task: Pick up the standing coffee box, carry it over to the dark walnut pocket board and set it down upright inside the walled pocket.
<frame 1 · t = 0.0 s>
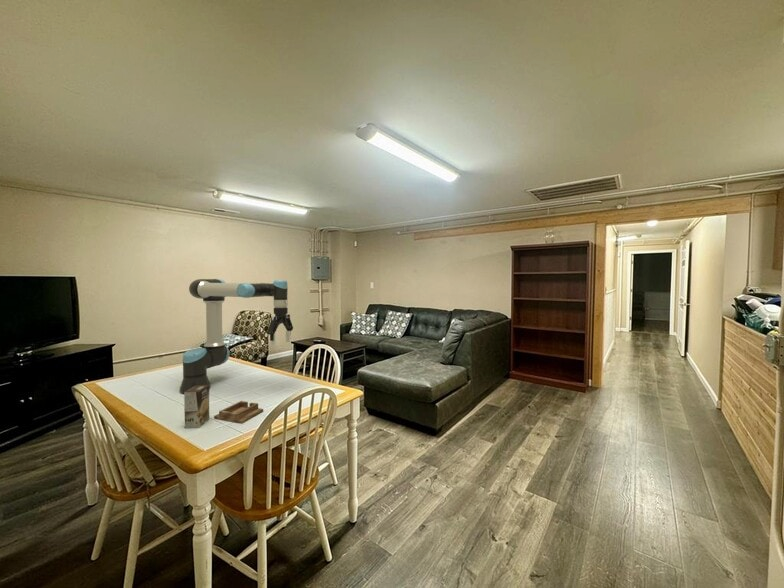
hand: (280, 344, 180), 28 cm above the table, fingers open, 13 cm apart
coffee box: (197, 423, 141), on the table
pocket board: (239, 415, 150), on the table
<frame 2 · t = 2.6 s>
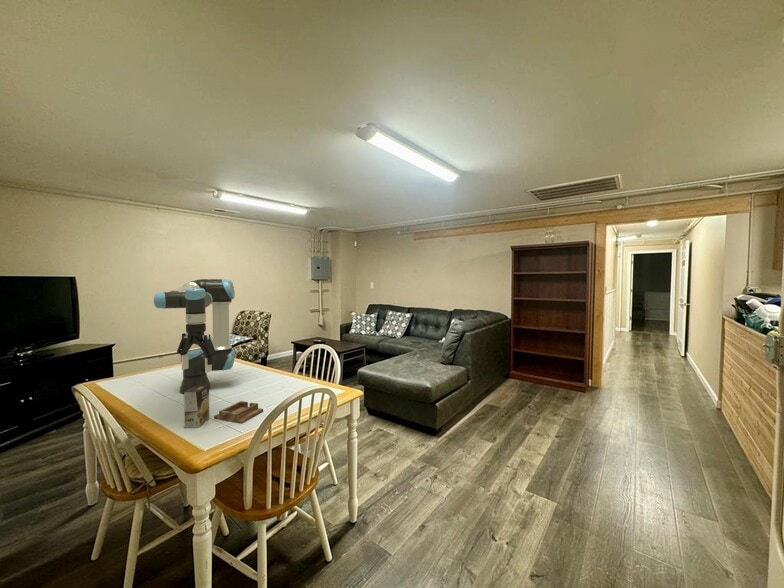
hand: (196, 370, 140), 24 cm above the table, fingers open, 13 cm apart
nothing on the table moved.
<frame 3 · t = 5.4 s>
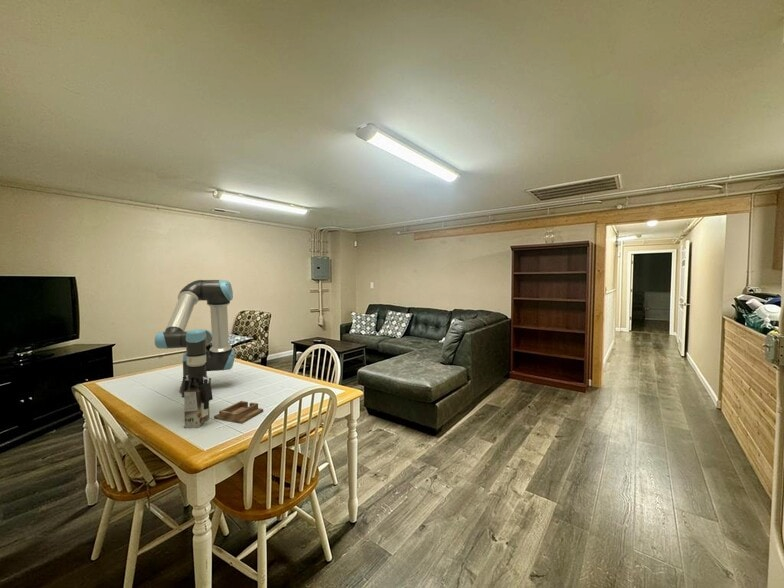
hand: (197, 414, 141), 4 cm above the table, fingers closed on coffee box, 8 cm apart
coffee box: (197, 423, 141), on the table, touching gripper
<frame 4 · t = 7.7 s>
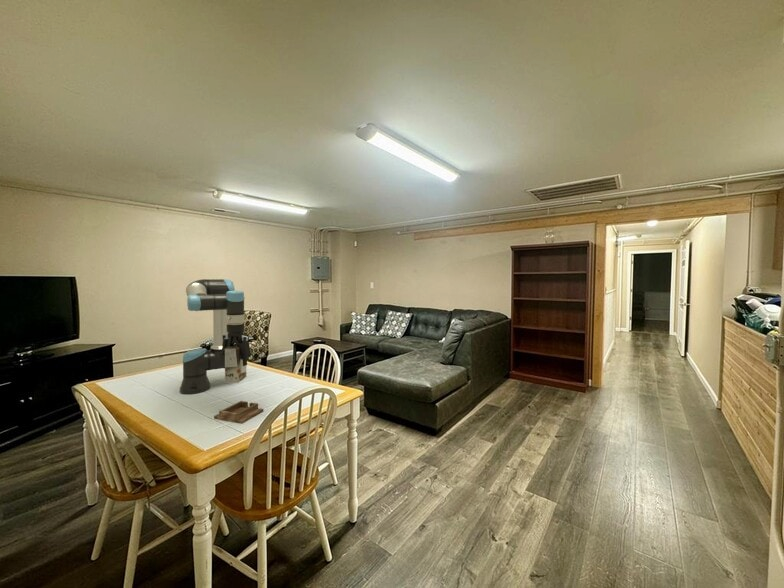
hand: (236, 371, 148), 21 cm above the table, fingers closed on coffee box, 8 cm apart
coffee box: (236, 380, 148), point 17 cm above the table, touching gripper
when the fingers open (7 cm above the table, at t = 10.3 s): coffee box stays where it is, resting on pocket board.
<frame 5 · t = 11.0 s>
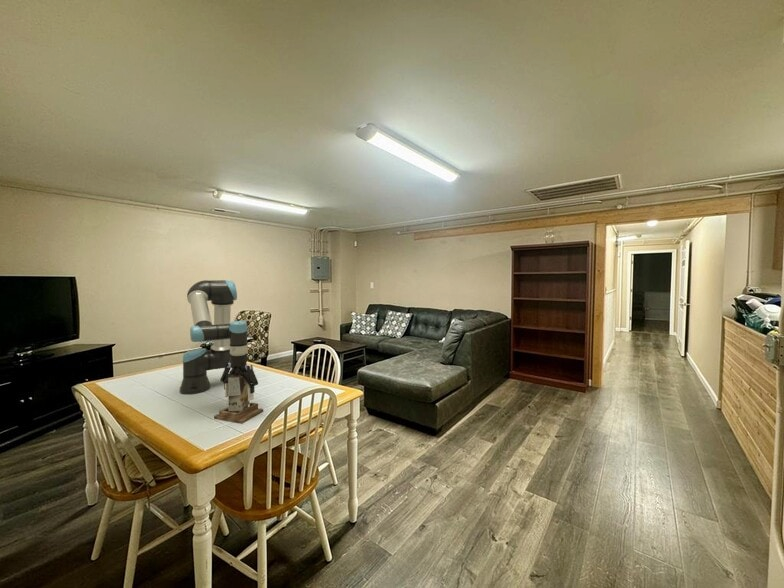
hand: (239, 398, 149), 8 cm above the table, fingers open, 13 cm apart
coffee box: (239, 407, 150), point 4 cm above the table, touching pocket board
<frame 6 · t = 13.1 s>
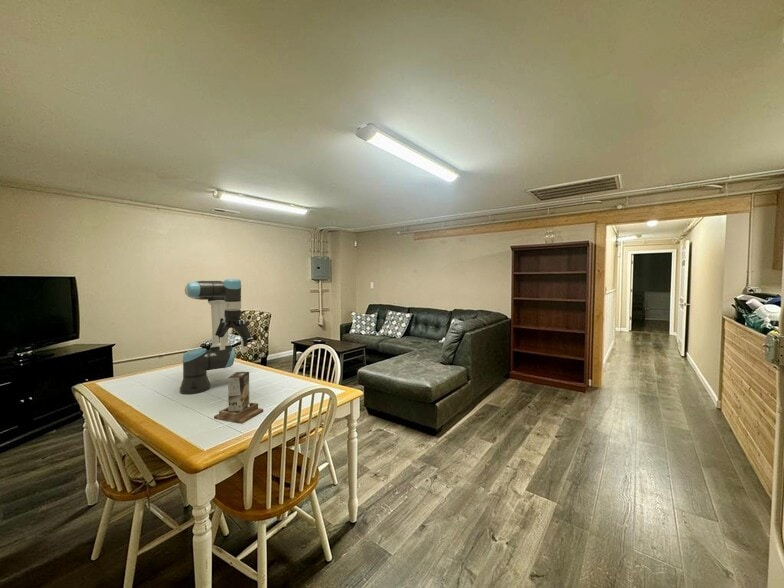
hand: (233, 351, 159), 28 cm above the table, fingers open, 13 cm apart
nothing on the table moved.
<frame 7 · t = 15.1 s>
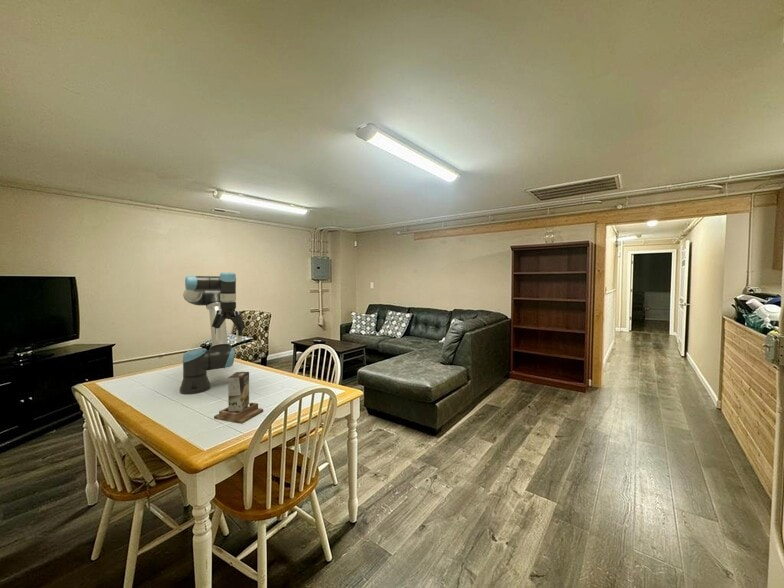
hand: (228, 341, 168), 32 cm above the table, fingers open, 13 cm apart
nothing on the table moved.
at the end: coffee box 0.2 cm from the pocket board (horizontally); coffee box tilted 0°; the gripper is holding nothing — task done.
